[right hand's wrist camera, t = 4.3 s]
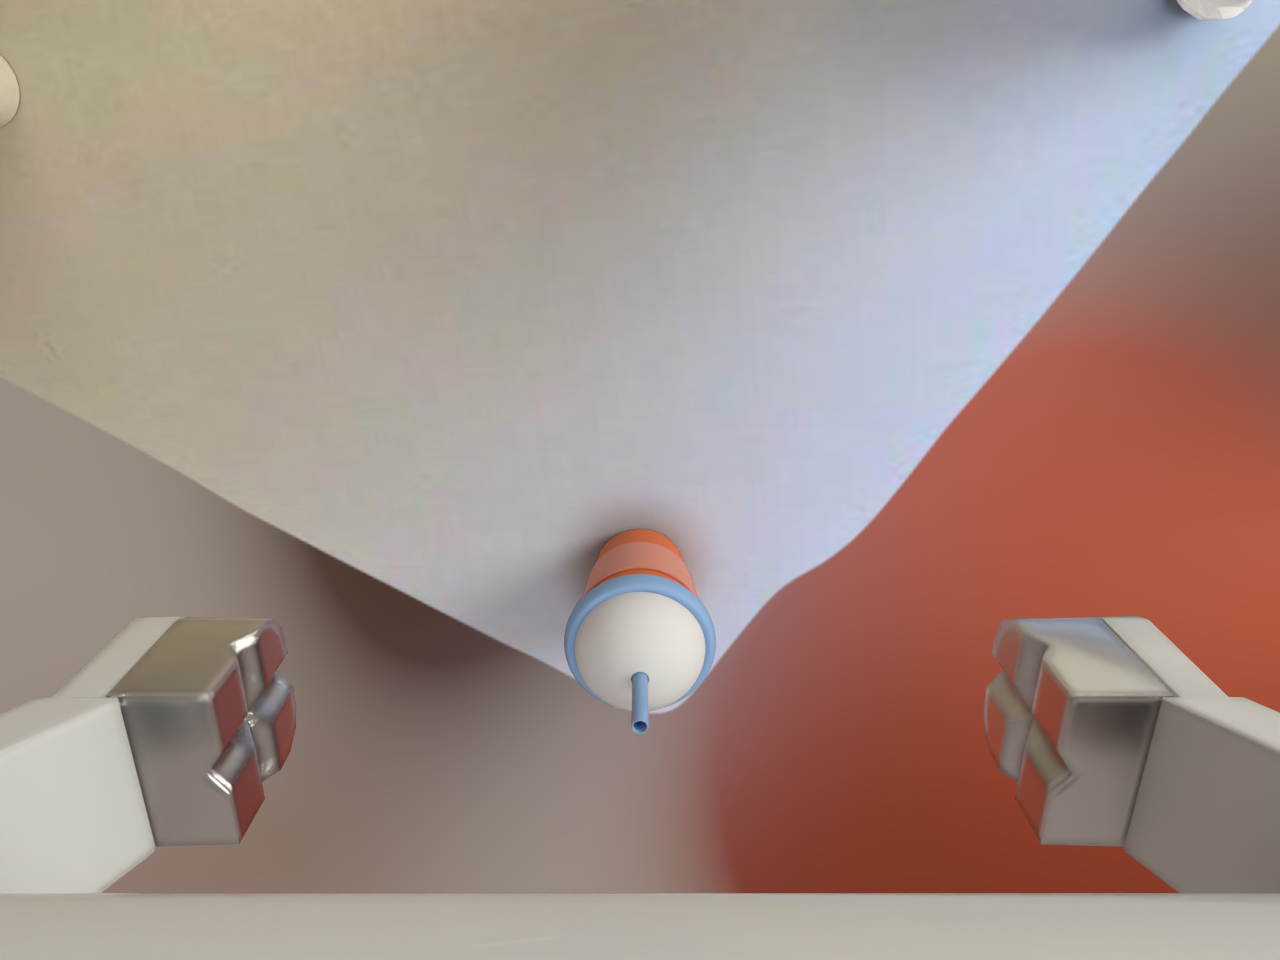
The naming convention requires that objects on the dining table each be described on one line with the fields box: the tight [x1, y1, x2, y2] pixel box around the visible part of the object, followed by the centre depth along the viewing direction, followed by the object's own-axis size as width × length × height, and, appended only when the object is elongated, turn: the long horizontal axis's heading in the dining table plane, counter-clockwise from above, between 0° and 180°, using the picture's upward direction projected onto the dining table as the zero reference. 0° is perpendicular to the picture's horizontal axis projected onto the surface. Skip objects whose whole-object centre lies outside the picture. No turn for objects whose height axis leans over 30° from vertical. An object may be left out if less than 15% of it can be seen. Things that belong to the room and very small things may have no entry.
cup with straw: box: [564, 529, 716, 734], centre depth 55 cm, size 9×9×18 cm
